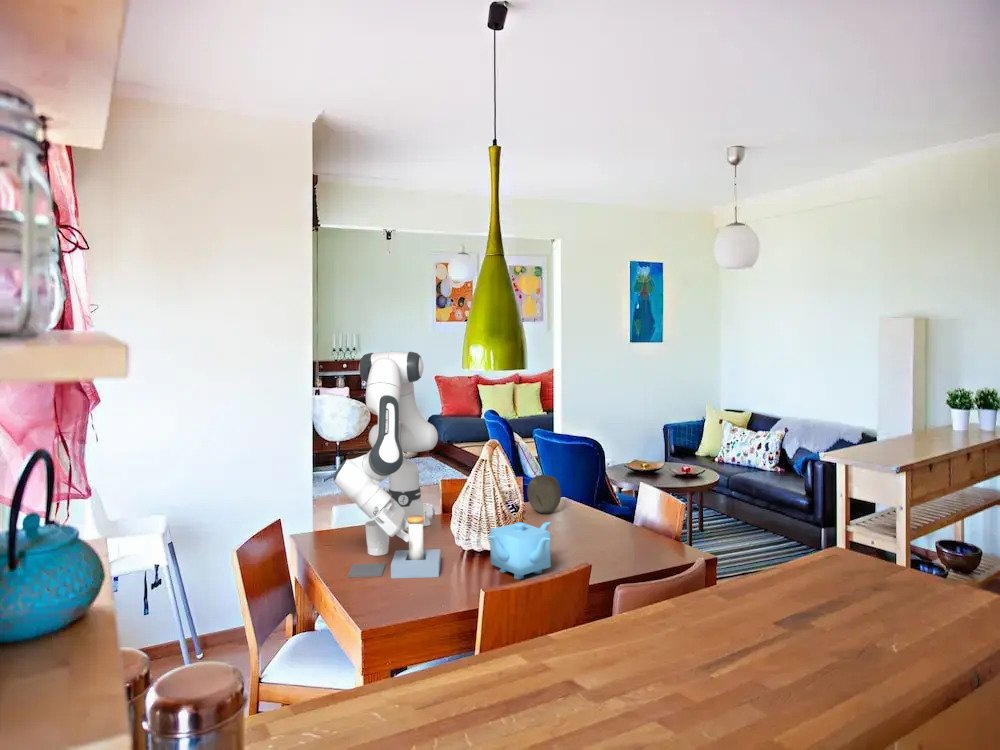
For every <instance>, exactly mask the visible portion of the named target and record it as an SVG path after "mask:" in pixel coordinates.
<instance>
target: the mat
mask: <svg viewBox="0 0 1000 750" xmlns="http://www.w3.org/2000/svg"><path fill="white" fill-rule="evenodd" d="M386 565H387V563H383V562H382V563H355V564H352V566H351V568H350V570H349V572H348V574H347V578H370V577H371V578H372V577H374V578H376V577H377V578H379V577H382V576H383V574H384V571H385V568H386Z"/></svg>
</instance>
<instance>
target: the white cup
mask: <svg viewBox="0 0 1000 750" xmlns="http://www.w3.org/2000/svg"><path fill="white" fill-rule="evenodd" d="M364 525H365V538H366V546H367V554H368V555H370V556H373V557H374V556H375V557H376V556H378V557H379V556H384V555H386V554H388V553H389V548H390V547H389V545H390V536H389V535H388V534H387V533H386V532H385V531H384V530H383V529H382V528H381V527H380V526H379V525H378V524H377V523H376V522H375V519H374V520H373V519H371V520H369V521H367V522H365V524H364Z"/></svg>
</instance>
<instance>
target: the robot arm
mask: <svg viewBox="0 0 1000 750" xmlns="http://www.w3.org/2000/svg"><path fill="white" fill-rule="evenodd" d="M422 359H423V358H422V356H421V355H420V354H419V353H417V352H415V351H407V352H406V351H394V350H393V351H392V350H391V351H383V352H376V353H374V352H370V353H369V352H368V353H366V354H364V355H362V357H361V358H360V360H359V364H358V372H359V376H360V379H361V380H363V381H364V382H365V383H366V387H365V389H366V390H365V405H366V408H367V410H368V411H369V412H370V413H371V414H373V415H376V416H377V423H376V424H374V425H373V426H372V427H371V429H370V430H369V433H368V442H369V445H370V447H371V449H370V450H369V451H368V452H367V453H366V454H363V455H361V456H357V457H355V458H351V459H349V458H347V459H345V460H343V461H342V463H341V464H339V466H338V468H337V469H336V471H335V473H334V474H333V482H334V484H335V485H336V487H337V488H338V489H339V491H341V492H342V493H343V494H344V495H345V496H346V497H347V498H348V499H349V500H351V501H353V502H354V503H355V504H356V505H357V507H358V508H359V509H360V510H361V511H362V512H363V513H364V514H365V515H366V516H367V517H368V518H369V519H370V520H373V519H374V520H375V522H376V523H377V524H378V525H379V526H380V527H381V528H382V529H383V530H384V531H385V532H386V533H387V534H388V535H389V537H391V538H393V537H394V536H397V537H399V538H400V539H402V540H403V541H405V543H409V540H410V538H411V537H410V535H409V528H408V522H407V517H409V516H413V515H421V516H424V522H423V527H428V526H430V525H432V523H431V520H430V519H429V517H428V515H427V512H426V511H425V507H426V506H425V502H424V501H423V500H422V499H421V495H422V491H421V487H420V470H419V469H420V468H419V467H418V465H417V464H416V463H415V462H413V461H411V460H409V459H408V458H406V457H405V456H404V453H408V452H409V453H412V452H413V453H419V452H420V453H421V452H425V451H426V452H427V451H431V450H433V449H434V448H435V447H436V445H437V444H438V440H439V434H438V433H439V432H438V431H437V428H436V427H435V425H433V423H431V422H429V421H427V419H425V418H424V417H423V416H422V415H421V413H420V411H419V409H418V407H417V402H416V396H415V388H414V382H417V381H419V380H420V379H421V378H422V375H423V373H424V363H423V360H422ZM387 478H388V481H389V488H388V490H385V489H384V488H383V487H381V486H380V485H379V484H380V483H381V482H383V481H385V480H386V479H387Z"/></svg>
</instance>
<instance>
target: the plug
mask: <svg viewBox="0 0 1000 750" xmlns="http://www.w3.org/2000/svg"><path fill="white" fill-rule="evenodd" d="M407 522H408V528H409V533H408V534H409V535H410V537H411V538H410V540H409V541H408V550H409V560H424V550H425V549H424V526H423V522H424V516H421V515H413V516H409V517H407Z"/></svg>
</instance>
